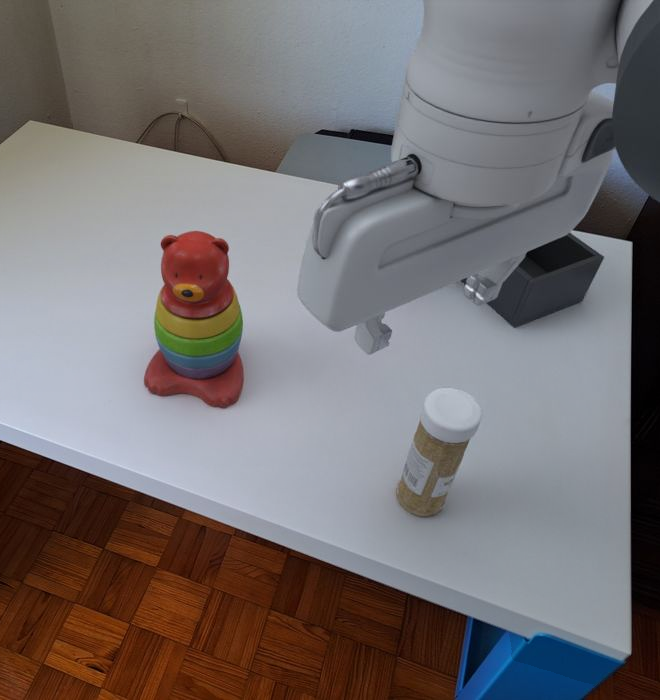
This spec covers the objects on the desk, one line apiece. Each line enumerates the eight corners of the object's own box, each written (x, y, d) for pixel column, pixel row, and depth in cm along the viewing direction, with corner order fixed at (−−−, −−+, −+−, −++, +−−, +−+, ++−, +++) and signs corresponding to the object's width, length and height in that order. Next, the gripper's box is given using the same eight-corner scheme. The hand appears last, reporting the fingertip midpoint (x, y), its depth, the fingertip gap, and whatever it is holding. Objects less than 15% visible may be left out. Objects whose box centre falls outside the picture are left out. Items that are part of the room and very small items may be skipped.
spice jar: (447, 519, 63) (488, 430, 53) (397, 516, 63) (428, 427, 54) (440, 477, 66) (477, 386, 56) (392, 474, 66) (420, 383, 57)
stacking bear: (138, 392, 75) (121, 264, 62) (167, 329, 81) (156, 202, 69) (235, 412, 72) (237, 283, 60) (256, 345, 79) (262, 217, 66)
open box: (582, 301, 82) (604, 257, 78) (514, 327, 80) (533, 283, 75) (520, 253, 89) (537, 209, 84) (456, 276, 86) (470, 232, 82)
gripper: (358, 222, 32) (327, 410, 42) (658, 110, 38) (569, 297, 48) (283, 161, 36) (272, 346, 46) (566, 68, 42) (502, 249, 52)
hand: (426, 320), depth 47 cm, fingers open, 8 cm apart
